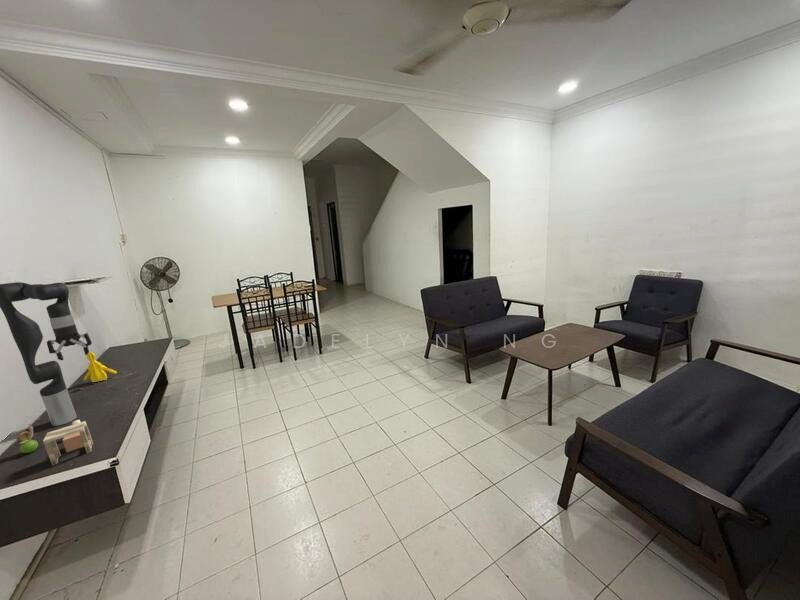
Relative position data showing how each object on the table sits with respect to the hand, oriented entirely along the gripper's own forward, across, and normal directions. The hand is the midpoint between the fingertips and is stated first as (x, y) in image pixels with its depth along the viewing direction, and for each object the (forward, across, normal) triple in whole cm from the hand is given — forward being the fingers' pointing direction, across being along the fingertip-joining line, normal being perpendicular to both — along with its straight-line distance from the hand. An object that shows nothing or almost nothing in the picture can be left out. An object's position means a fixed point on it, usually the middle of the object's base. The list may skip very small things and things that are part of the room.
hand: (74, 357), depth 151 cm
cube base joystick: (+38, +6, +11) cm, 40 cm away
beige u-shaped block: (+38, +6, +23) cm, 45 cm away
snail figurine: (+38, +22, +5) cm, 44 cm away
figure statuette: (+38, +5, -73) cm, 83 cm away
